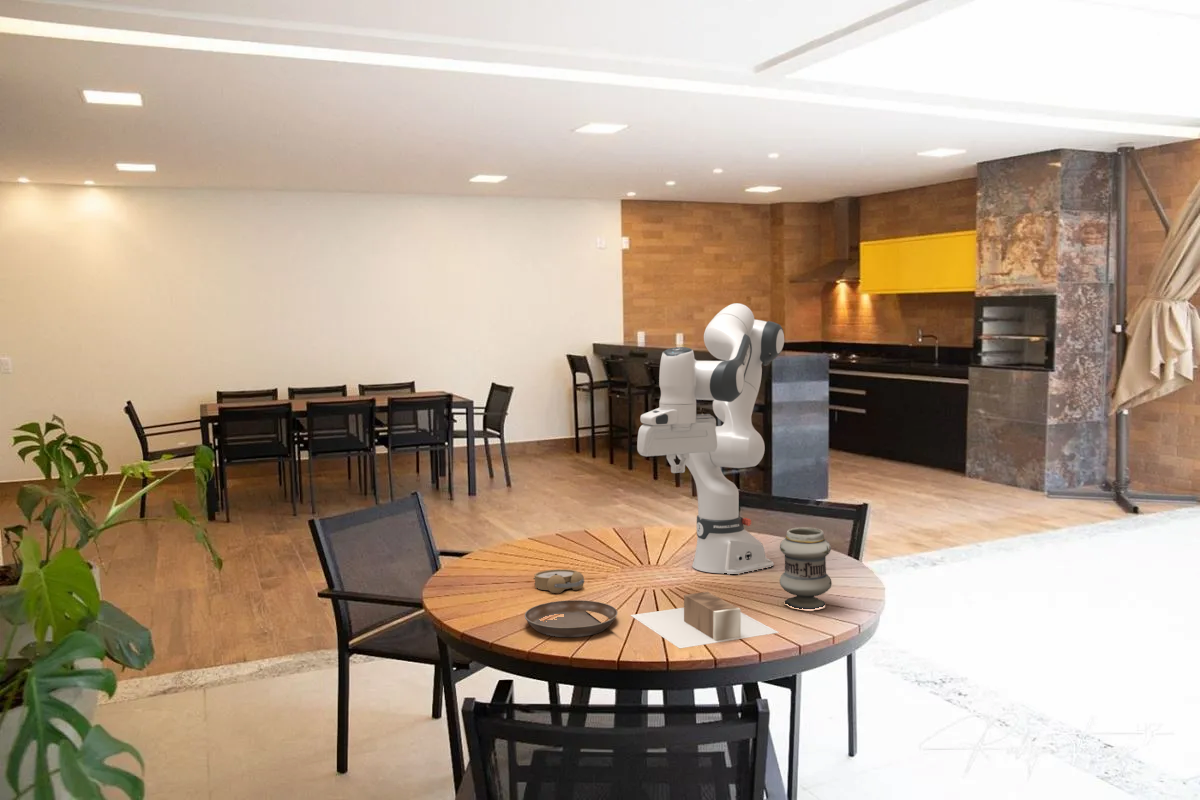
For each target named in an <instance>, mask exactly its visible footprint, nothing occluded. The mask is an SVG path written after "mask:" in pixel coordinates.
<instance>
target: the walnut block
mask: <svg viewBox="0 0 1200 800" xmlns="http://www.w3.org/2000/svg"><path fill="white" fill-rule="evenodd" d="M683 608H684V622H686V623H687V624H689V625H691V626H692V627H694V628H696V629H697V630H699V631H701V632H702V633H704V634H705V635H707V636H709V637H710V638H712V639H714V640H715V641H717V640H724V639H730V638H736V637H741V612H742V610H741V608H740V607H738V606H735V604H732V603H730V602H728V601H726V600H724V599H722V598H720V597H719V596H717V595H714V594H713V593H711V592H709V591H703V592H697V593H687V594H684V595H683Z"/></svg>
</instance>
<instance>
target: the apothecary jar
mask: <svg viewBox="0 0 1200 800" xmlns="http://www.w3.org/2000/svg"><path fill="white" fill-rule="evenodd" d="M779 549H780V552H781V553H782V554H783V555H784V572H783V573H782V574H781V575H780V578H779V584H780V587H781V588H782V589H783V590H784V591H786V592H787V593H789V594H791V595H794V596H792V597H789V598H787V599H785V600H784V602H785V604H788V605H789V606H792V607H794V608H799V609H802V608H803V609H815V608H819V607H823V606H824V605H825V603H826V602H825V601H824V600H822V599H820V598H818V596H821V595H823V594H825V593H827V592H828V591H829V590H830V589H831V588H832V585H833V583H832V578H831V576H829V574H827V565H826V563H827V561H826V557H827V556H828V555H829V554H830V553H831V551H832V550H831V549H832V546H831V544H830V542H829V541H828V540H827V539H825V535H824V530H822V529H820V528H816V527H793V528H789V529H787V531H786V535H785V538H783V539H782V541H781V542H780V543H779Z"/></svg>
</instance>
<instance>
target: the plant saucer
mask: <svg viewBox="0 0 1200 800" xmlns="http://www.w3.org/2000/svg"><path fill="white" fill-rule="evenodd" d="M589 612H591V613H597V614H600V615H603V617H604V616H605V617H606V618H608V620H606V621H603V622H601V621H600V620H599V619H597V618H596V617H595V616H593V615H592V614H590V613H589ZM618 613H619V612H618V610H617V609H616V608H615V607H614V606H612V605H610V604H607V603H604V602H599V601H594V600H593V601H592V600H583V599H582V600H581V599H579V600H577V599H576V600H574V599H572V600H571V599H570V600H557V601H551V602H545V603H541V604H538V605H535V606H532V607H531V608H529V609H527V610H526V611H525V613H524V619H525V620H526V622H527V623H528V624H529V625H530V626H531V627H532V628H533V629H534V630H535V631H536V632H539V633H540V634H542V635H545V634H546V635H545V636H549V635H550V637H554V636H555V638H583V637H588V636H592V635H596V634H599V633H601V632H604V631H605V630H606V629H607V628H609V626H611V624H613V622H615V620H616V617H617V615H618ZM554 614H564V617H557V618H555V619H557V620H554V619H553V620H545V621H544V622H543V621H540V620H539V619H541V618H543V617H545V616H549V615H554ZM546 621H547V622H546Z"/></svg>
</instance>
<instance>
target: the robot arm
mask: <svg viewBox="0 0 1200 800" xmlns="http://www.w3.org/2000/svg"><path fill="white" fill-rule="evenodd" d="M703 333H704V334H703V342H704V345H705V347H706V349H707V351H708V352H709V353H710V355H711V356H713V357H714V358H716V359H718V360H697V359H696V358H695V353H694V350H693V349H692V348H690V347H685V346H684V347H683V346H682V347H681V346H678V347H672V348H670V347H669V348H667V349H665V350H664V351H662V353H661V358H660V362H659V363H660V364H659V374H658V375H659V377H658V379H659V380H658V381H659V382H658V385H659V388H660V398H659V402H658V403H659V404H658V405H659V407H658V408H655V409H652V410H650V411H648V412H645V413H642V414H641V415H640V418H639V419H640V423H642V425H640V427H639V429H638V432H637V443H636V444H637V445H636V448H637V453H638V454H639V455H640V456H643V457H658V456H666V460H667V462H668V463H669V465H670V472H671V473H672V474H678V473H680V474H682V473H686V472H685V471H686V467H687V468H688V470H689V472H690V473H691V475H692V478H693V480H694V483H695V487H696V493H697V508H698V509H697V511H698V512H697V514H698V515H696V536H697V537H696V538H697V541H696V547H695V553H694V558H693V561H692V568H693V569H694V570H697V571H701V572H706V573H713V574H724V573H727V574H726V575H730V574H738V575H740V574H739V573H743V574H745V573H744V572H748V571H752V572H754V571H753V570H757V569H762V568H765V567H770V566H773V565H774V562H773V560H771V559H769V558H768V557H767V556H766V551H765V547H764V545H763V543H762V542H761V541H760V540H759V539H758V538H757V537H755V536H754V535H753V534H752V533H750V532H749V531H747V530H746V529H745V526H747V527H750V526H751V525H752V520H751V518H747V517H741V516H740V515H739V514H740V512H739V510H740V509H739V507H740V506H739V503H740V502H739V499H740V497H739V495H740V494H739V493H740V492H739V489H738V487H737V486H736V484H735V483H734V482H732V481H731V480H729V479H728V478H727V477H726V476H725V475H724V473H723V472H722V468H730V469H731V468H733V469H743V468H751V467H756V466H757V465H758V464H760V462H761V461H762V459H763V457H764V456H765V455H764V454H765V451H766V450H765V448H766V447H765V441H764V439H763V437H762V435H761V434H760V433H759V432H758V431H757V430H756V429H755V427H754V425H753V423H752V414H753V411H754V407H755V404H756V400H757V398H758V395H759V391H760V387H761V381H762V375H763V374H762V372H763V368H762V367H763V366H765V367H766V366H769V365H770V363H771V362H772V361H774V360H776V358H778V356H779V355H781V353H782V351H783V348H784V344H785V334H784V333H785V332H784V329H783V327H782V325H781V324H779V323H777V322H774V321H772V320H771V321H770V320H768V321H766V320H761V319H755V315H754V313H753V311H752V310H751V308H750V307H748V306H747V305H745V304H743V303H737V302H736V303H731V304H729V305H727V306H726V307H724V308H722V309H721V310H720V311H719V312H717V314H715V315H714V317H713V318H712V319H711V320H710V321H709V323H708V324H707V325H706V327H705V330H704V332H703ZM762 365H763V366H762ZM697 400H698V401H699V400H700V401H702V400H703V401H712V411H713V413H714V415H715V416H716V417H717V419H718V420H720V421H721V422H722V423H723V424H722V425H717V420H716V418H715V417H714V415H712V414H710V413H704V414H701V413H699V414H697ZM676 457H677V458H678V460H680V461H679V464H677V463H676V462H675V461H676V459H677V458H676ZM774 566H775V565H774ZM762 570H763V569H762ZM757 571H758V570H757ZM748 573H749V572H748Z"/></svg>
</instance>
